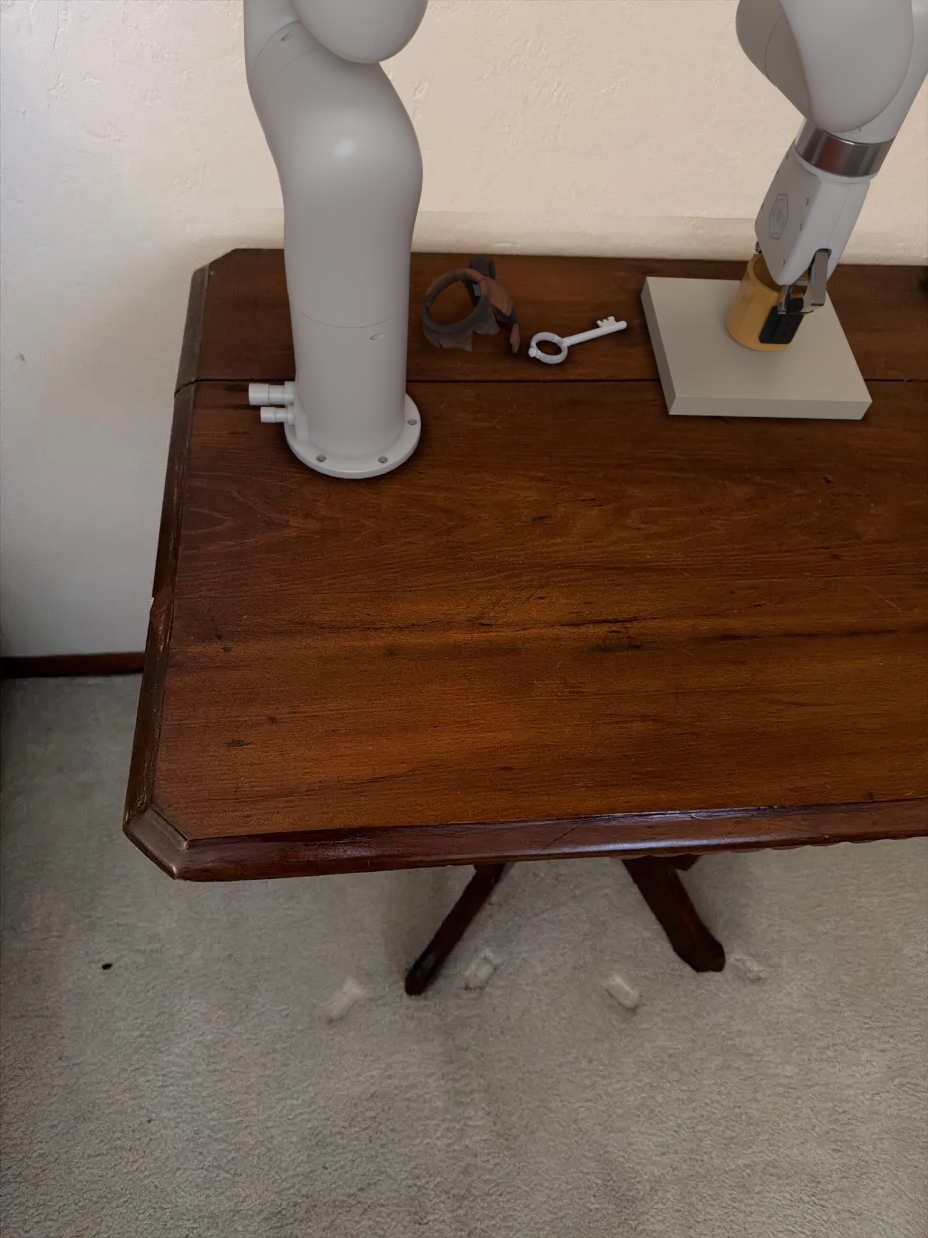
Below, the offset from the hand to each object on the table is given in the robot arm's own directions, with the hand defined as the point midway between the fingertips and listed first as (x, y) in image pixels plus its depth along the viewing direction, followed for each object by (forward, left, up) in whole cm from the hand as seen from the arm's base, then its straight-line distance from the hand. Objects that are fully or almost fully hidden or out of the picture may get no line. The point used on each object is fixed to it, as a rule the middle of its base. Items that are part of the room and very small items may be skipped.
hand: (764, 314), depth 89 cm
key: (-18, +1, -5) cm, 19 cm away
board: (0, 0, -5) cm, 5 cm away
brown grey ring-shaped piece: (-29, +2, -5) cm, 30 cm away
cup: (0, 0, -2) cm, 2 cm away
